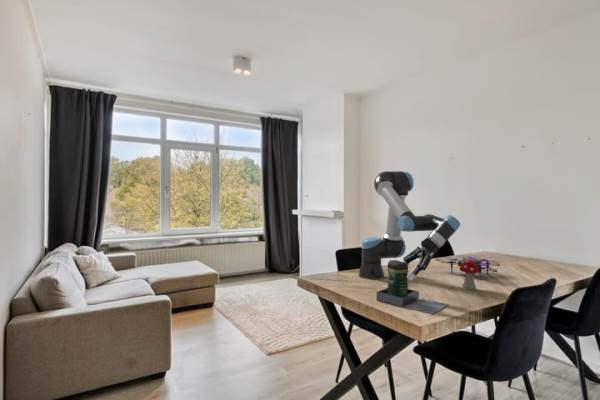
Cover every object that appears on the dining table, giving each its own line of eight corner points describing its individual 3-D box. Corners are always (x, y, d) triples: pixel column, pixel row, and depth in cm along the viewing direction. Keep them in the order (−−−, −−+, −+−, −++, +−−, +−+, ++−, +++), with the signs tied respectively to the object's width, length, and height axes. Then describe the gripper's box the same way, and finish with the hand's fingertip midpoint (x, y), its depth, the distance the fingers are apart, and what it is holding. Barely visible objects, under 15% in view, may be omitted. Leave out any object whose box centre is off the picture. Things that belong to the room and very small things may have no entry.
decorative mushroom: (455, 287, 177) (455, 259, 177) (467, 285, 180) (467, 258, 180) (471, 292, 168) (471, 262, 168) (483, 290, 171) (483, 261, 171)
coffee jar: (411, 302, 152) (411, 262, 152) (396, 304, 150) (396, 263, 150) (398, 296, 161) (398, 258, 161) (384, 297, 159) (384, 259, 159)
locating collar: (376, 300, 155) (376, 291, 155) (393, 293, 166) (393, 285, 166) (402, 307, 145) (402, 298, 145) (418, 299, 156) (418, 291, 156)
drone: (431, 256, 215) (458, 252, 229) (431, 271, 215) (458, 266, 229) (493, 267, 181) (520, 262, 195) (493, 285, 181) (520, 278, 195)
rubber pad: (406, 307, 145) (406, 306, 145) (422, 299, 156) (422, 298, 156) (433, 314, 136) (433, 313, 136) (448, 305, 148) (448, 304, 148)
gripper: (452, 252, 144) (419, 288, 142) (426, 244, 168) (397, 274, 167) (441, 240, 143) (407, 276, 142) (416, 234, 168) (387, 264, 167)
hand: (402, 275), depth 155 cm, fingers open, 13 cm apart
